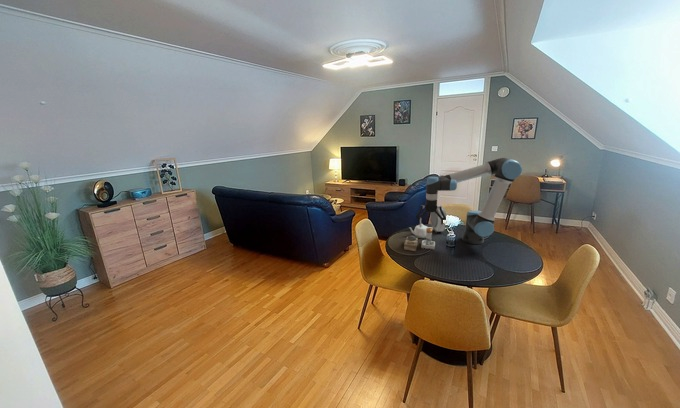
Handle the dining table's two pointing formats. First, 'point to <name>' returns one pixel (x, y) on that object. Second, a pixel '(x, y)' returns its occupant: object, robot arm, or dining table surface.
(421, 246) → the tray
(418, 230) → the teapot
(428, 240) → the pin
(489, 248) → the dining table surface
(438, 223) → the grey piece
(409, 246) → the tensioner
